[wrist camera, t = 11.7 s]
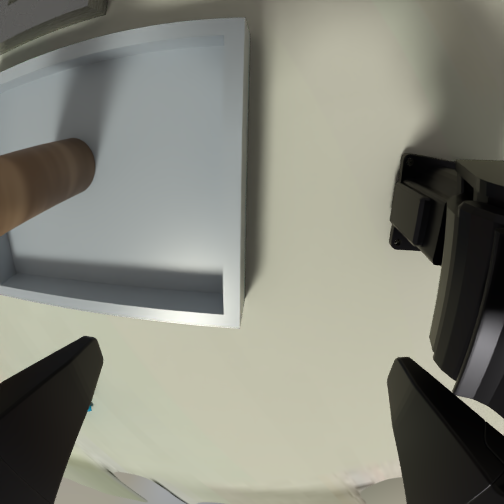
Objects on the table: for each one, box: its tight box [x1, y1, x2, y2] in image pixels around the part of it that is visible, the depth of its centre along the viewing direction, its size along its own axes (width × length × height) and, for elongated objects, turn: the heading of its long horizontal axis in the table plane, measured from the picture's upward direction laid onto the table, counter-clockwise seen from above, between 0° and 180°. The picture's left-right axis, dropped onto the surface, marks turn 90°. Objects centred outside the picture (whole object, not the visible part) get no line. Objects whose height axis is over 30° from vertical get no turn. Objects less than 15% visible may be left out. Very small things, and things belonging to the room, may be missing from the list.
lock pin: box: [0, 138, 95, 236], centre depth 12 cm, size 4×4×14 cm
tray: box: [0, 18, 250, 329], centre depth 18 cm, size 22×18×4 cm
